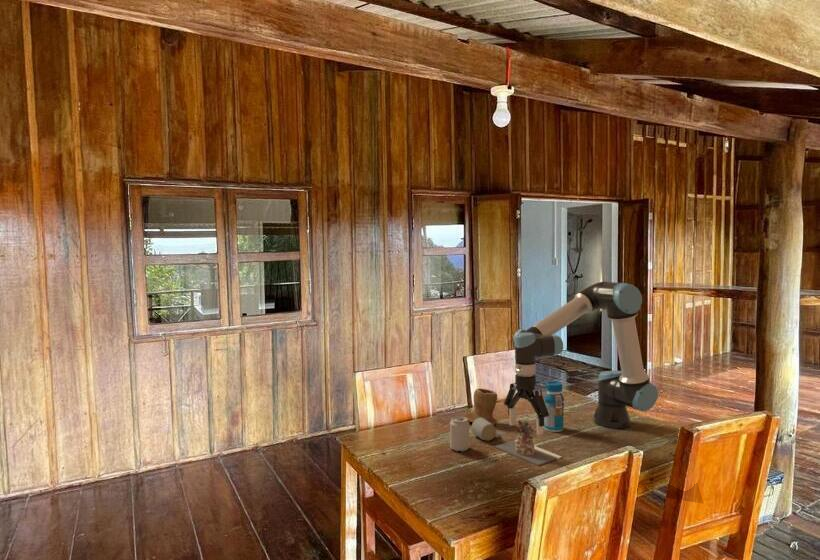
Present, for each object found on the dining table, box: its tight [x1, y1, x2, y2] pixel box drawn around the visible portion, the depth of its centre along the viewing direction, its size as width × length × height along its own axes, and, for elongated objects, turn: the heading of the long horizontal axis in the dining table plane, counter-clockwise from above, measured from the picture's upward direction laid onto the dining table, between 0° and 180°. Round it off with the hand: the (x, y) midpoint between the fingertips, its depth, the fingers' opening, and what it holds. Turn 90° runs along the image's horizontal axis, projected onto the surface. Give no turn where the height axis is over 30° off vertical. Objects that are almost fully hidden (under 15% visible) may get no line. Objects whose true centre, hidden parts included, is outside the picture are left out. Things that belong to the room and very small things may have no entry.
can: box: [449, 416, 470, 452], centre depth 208 cm, size 8×8×12 cm
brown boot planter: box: [459, 388, 498, 426], centre depth 239 cm, size 15×12×15 cm
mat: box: [494, 440, 558, 467], centre depth 203 cm, size 10×22×1 cm, turn 35°
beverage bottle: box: [543, 381, 565, 433], centre depth 229 cm, size 8×8×20 cm
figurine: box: [515, 419, 535, 455], centre depth 203 cm, size 7×7×12 cm
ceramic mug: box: [471, 418, 500, 442], centre depth 220 cm, size 11×8×8 cm
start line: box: [513, 439, 562, 460], centre depth 207 cm, size 2×22×1 cm, turn 35°
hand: (525, 429), depth 203 cm, fingers open, 13 cm apart
